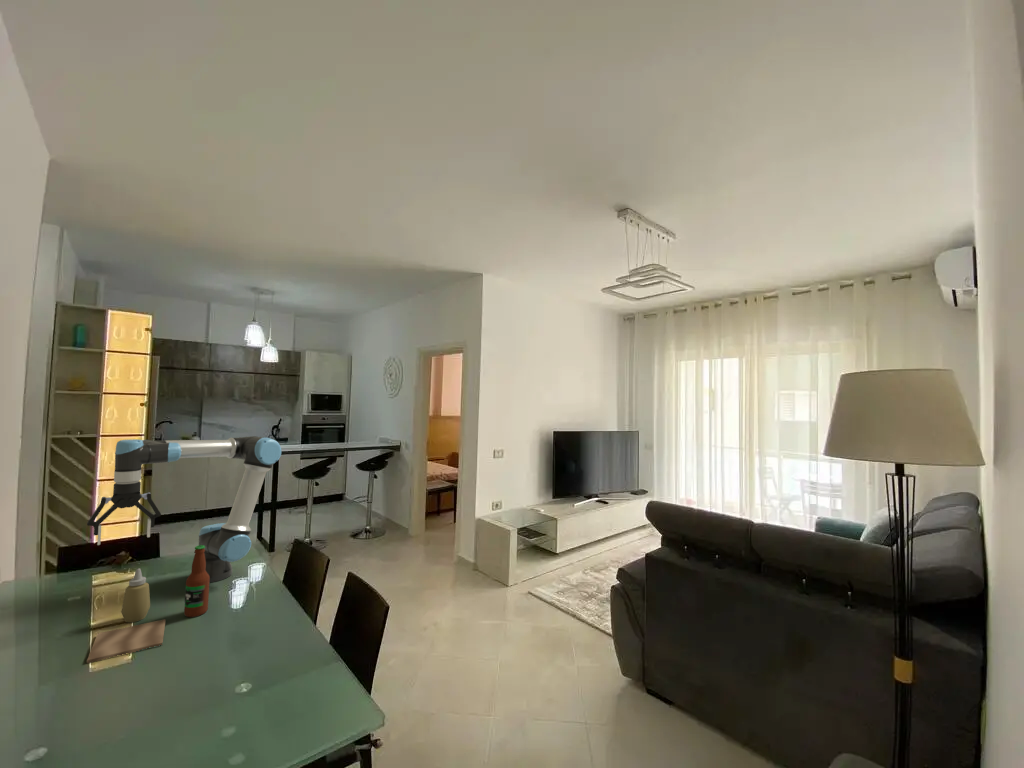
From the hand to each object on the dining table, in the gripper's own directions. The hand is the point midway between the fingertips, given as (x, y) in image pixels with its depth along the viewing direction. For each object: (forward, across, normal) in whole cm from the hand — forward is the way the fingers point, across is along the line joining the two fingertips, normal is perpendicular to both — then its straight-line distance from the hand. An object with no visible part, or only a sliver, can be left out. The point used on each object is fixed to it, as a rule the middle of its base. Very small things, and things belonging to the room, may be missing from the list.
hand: (124, 540), depth 160 cm
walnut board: (+28, -2, +21) cm, 35 cm away
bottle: (+29, -21, +12) cm, 38 cm away
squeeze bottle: (+29, -4, +4) cm, 29 cm away
